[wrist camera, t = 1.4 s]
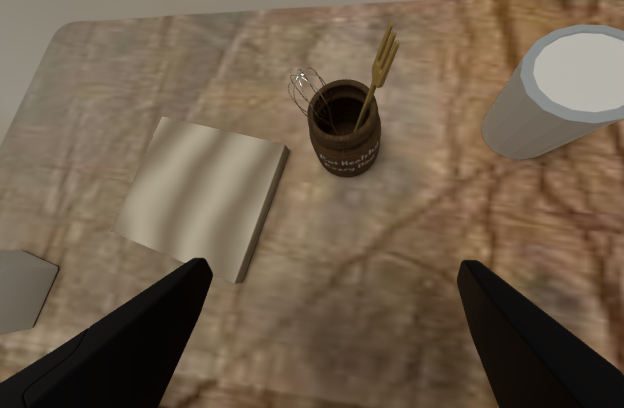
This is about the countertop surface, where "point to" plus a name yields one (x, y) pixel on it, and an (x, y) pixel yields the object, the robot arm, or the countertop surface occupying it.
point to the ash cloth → (202, 195)
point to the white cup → (559, 92)
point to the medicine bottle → (22, 289)
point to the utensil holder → (349, 116)
